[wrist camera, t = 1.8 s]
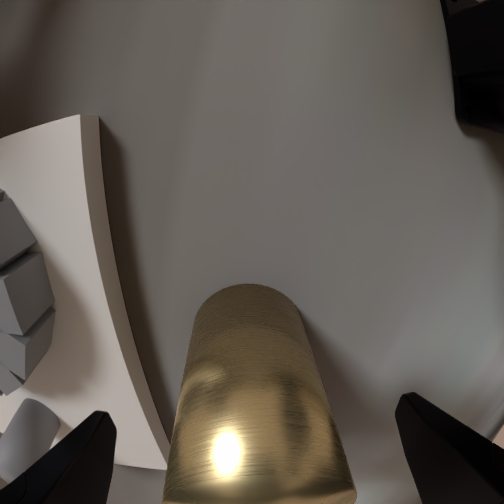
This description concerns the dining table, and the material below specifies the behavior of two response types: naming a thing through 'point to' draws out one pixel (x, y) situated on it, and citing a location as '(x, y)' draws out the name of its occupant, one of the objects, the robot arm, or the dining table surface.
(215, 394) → the brass cylinder
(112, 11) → the dining table surface
